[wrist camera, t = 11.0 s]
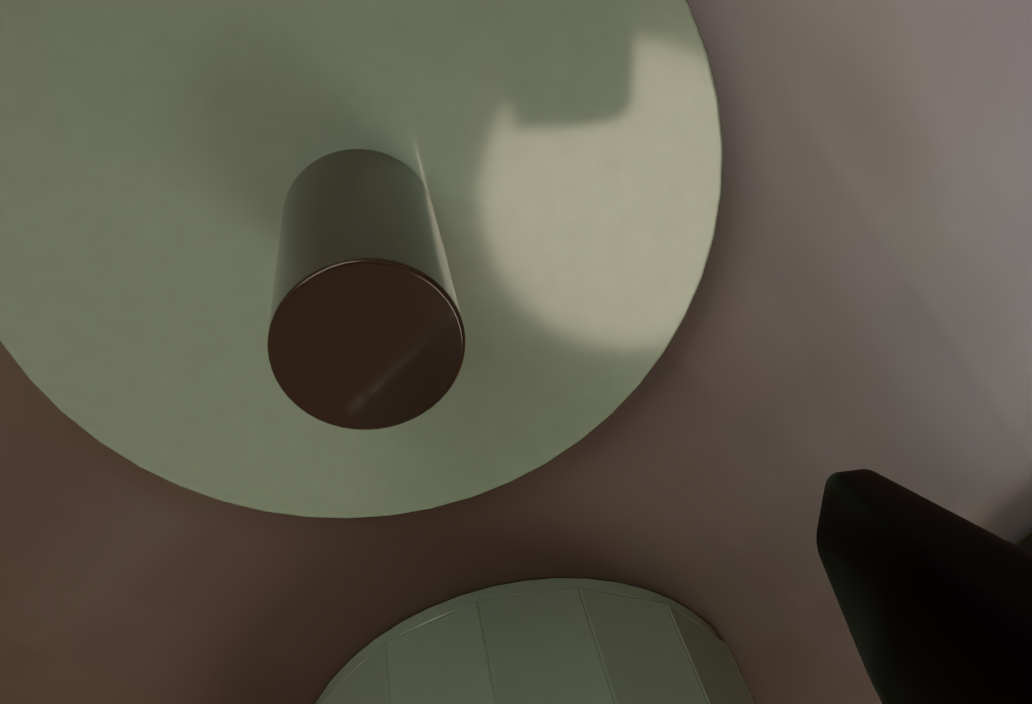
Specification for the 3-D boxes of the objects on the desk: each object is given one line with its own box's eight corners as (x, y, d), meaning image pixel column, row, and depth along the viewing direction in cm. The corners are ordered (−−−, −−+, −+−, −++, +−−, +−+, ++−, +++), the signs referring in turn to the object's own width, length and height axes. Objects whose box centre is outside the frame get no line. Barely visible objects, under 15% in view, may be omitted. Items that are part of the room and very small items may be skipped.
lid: (736, -227, 15) (933, -246, 10) (678, 450, 22) (779, 638, 17) (-168, -216, 13) (-462, -231, 8) (70, 521, 20) (-15, 754, 15)
